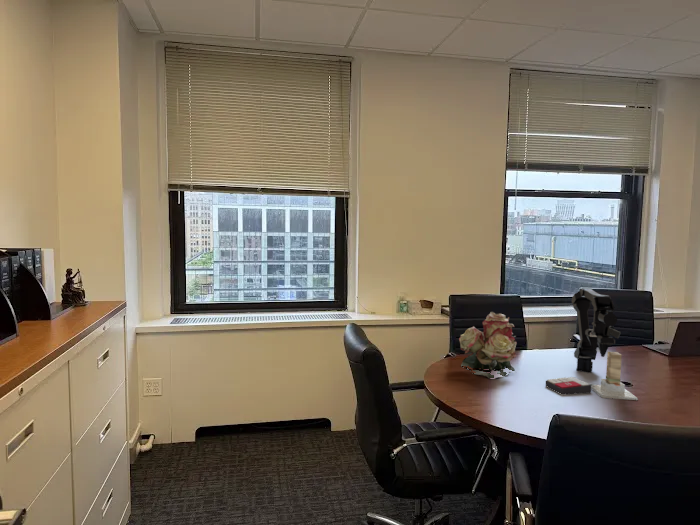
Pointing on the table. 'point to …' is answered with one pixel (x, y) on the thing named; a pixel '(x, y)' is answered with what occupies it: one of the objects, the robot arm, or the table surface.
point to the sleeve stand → (613, 390)
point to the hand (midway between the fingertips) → (598, 354)
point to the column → (613, 367)
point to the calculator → (568, 385)
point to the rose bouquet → (490, 345)
